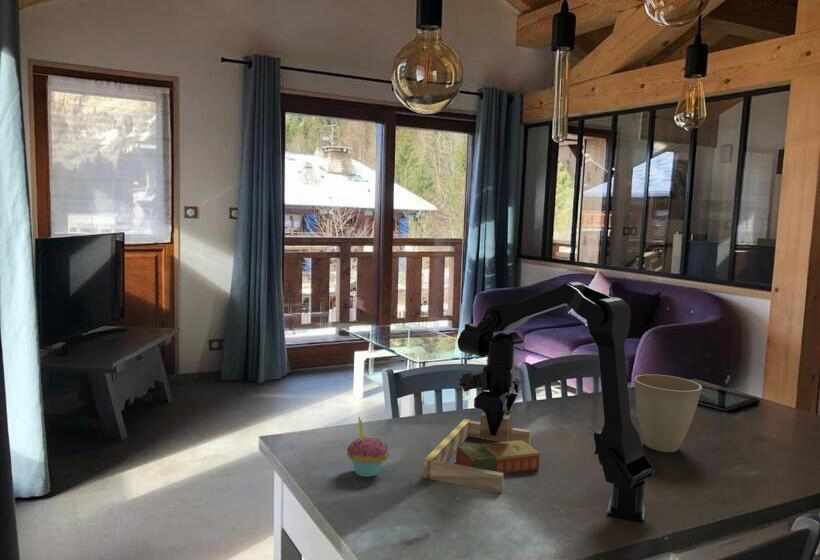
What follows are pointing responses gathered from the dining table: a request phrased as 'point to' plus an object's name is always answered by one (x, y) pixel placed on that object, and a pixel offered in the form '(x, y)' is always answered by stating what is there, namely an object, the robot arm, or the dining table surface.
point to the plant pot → (665, 409)
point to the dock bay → (463, 474)
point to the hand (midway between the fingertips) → (496, 430)
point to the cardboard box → (504, 429)
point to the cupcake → (367, 454)
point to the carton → (499, 456)
